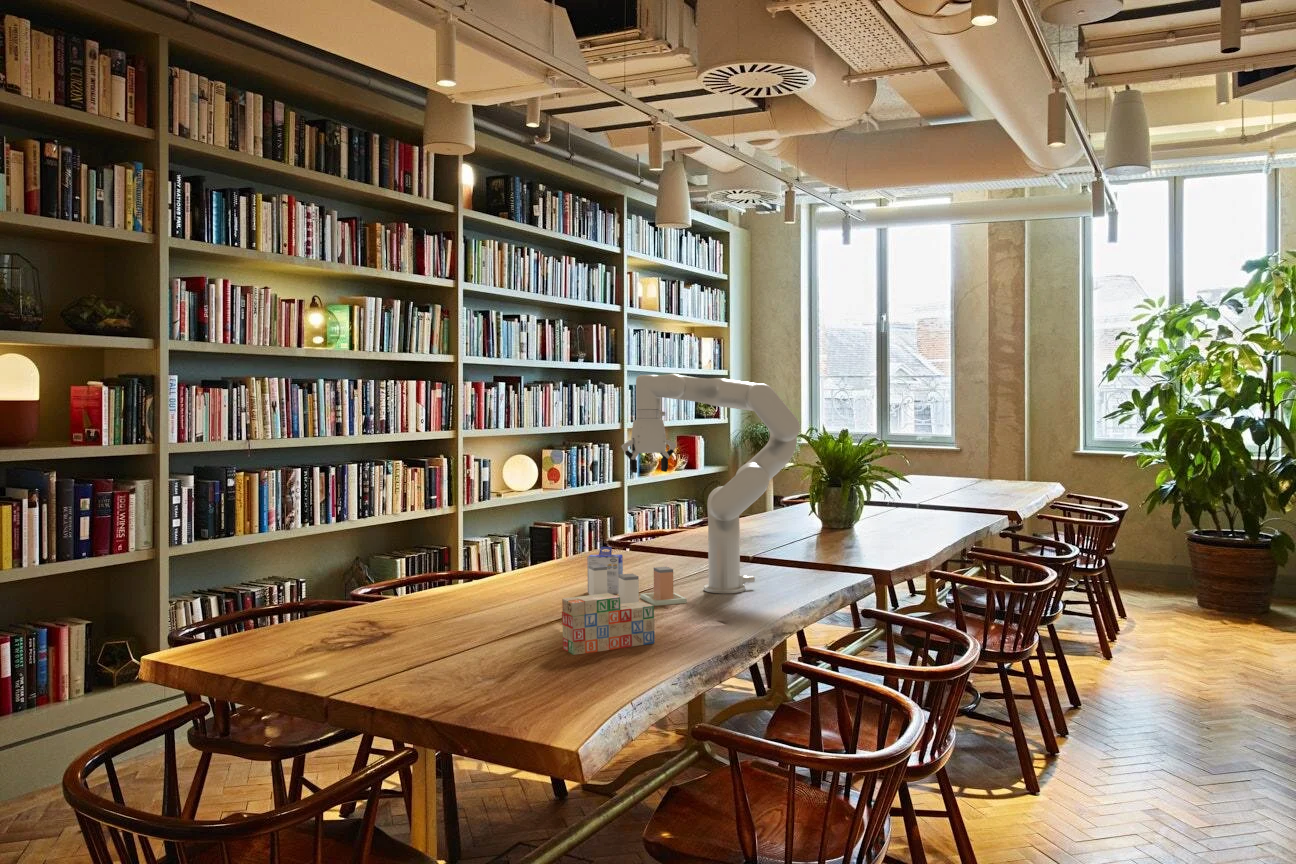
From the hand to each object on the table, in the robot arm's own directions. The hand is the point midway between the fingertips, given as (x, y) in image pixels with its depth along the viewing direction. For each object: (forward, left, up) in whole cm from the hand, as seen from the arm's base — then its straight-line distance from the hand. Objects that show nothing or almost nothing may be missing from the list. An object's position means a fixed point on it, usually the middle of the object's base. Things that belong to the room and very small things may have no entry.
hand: (649, 471), depth 307 cm
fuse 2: (+17, +30, -35) cm, 50 cm away
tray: (+4, +21, -36) cm, 42 cm away
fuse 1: (+20, +12, -35) cm, 43 cm away
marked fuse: (+4, +21, -36) cm, 42 cm away
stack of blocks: (+33, +61, -37) cm, 78 cm away
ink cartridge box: (+15, +2, -37) cm, 40 cm away
